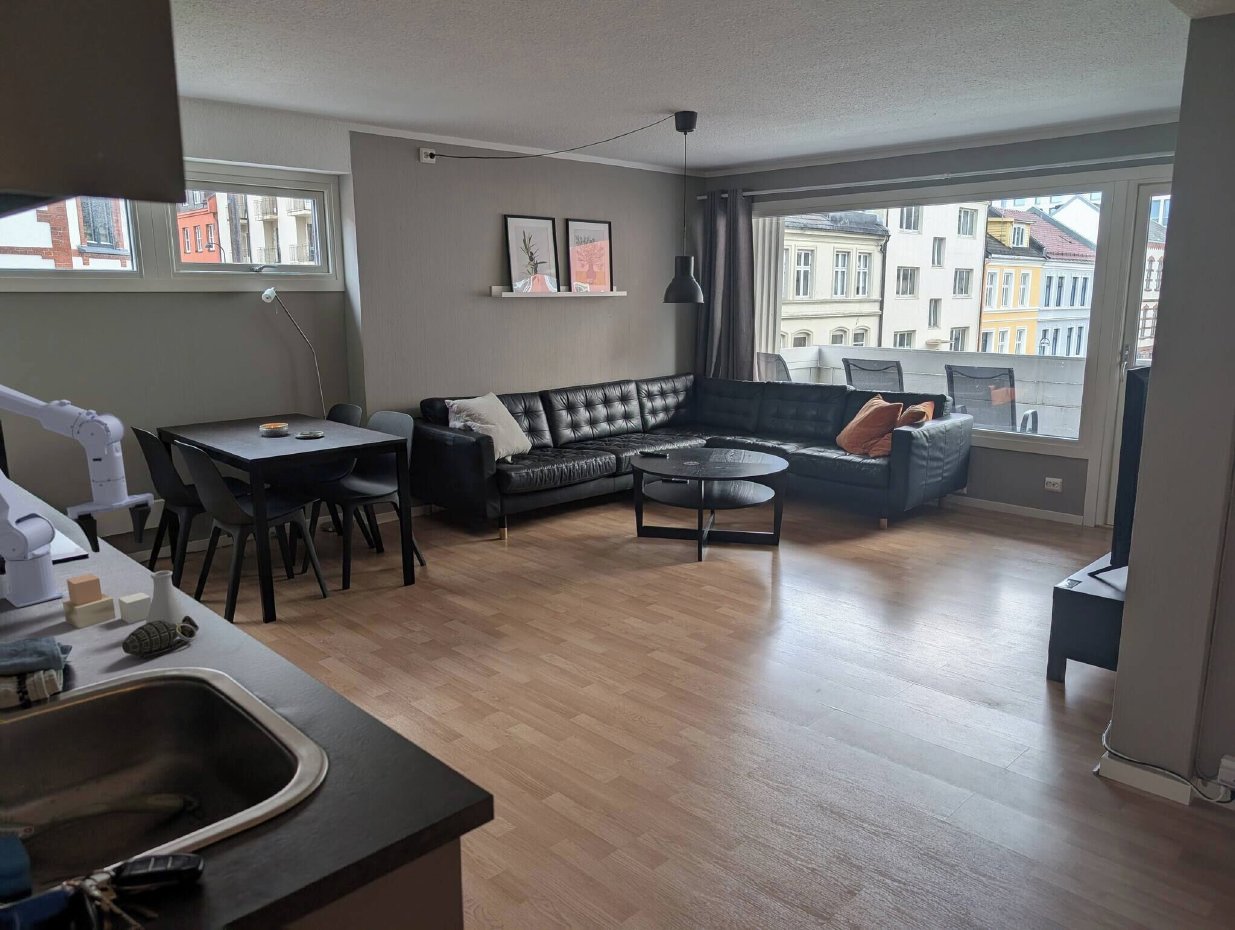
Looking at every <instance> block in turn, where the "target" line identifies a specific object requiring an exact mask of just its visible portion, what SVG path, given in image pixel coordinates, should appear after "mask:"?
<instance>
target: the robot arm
mask: <svg viewBox="0 0 1235 930" xmlns="http://www.w3.org/2000/svg"><path fill="white" fill-rule="evenodd" d="M71 404H72V402H71V401H70V400H67V399H60V400H53V401H50V402H44V401H42V400H40V399H37V398H35V397H32V396H30V395H27V394H25V393H22V392H20V391H17V390H15V389H13V388H10V387H8V386H5V385H3V384H1V383H0V409H1V410H5V411H8V412H12V413H15V414H19V415H22V416H26V417H29V418H32V419H36V420H38V421H39V422H40V424H41V426H42V427H43V429H45V430H48V431H51V432H54V433H57V434H59V435H63V436H65V437H69V438H72V439H73V440H74V439H75V440H78V443H79V444H80V445H81V446H82V447H83V448H84V450H85V454H86V458H87V459H86V460H87V465H88V471H89V479H90V484H91V493H92V500H93V501H91V502H86V503H82V504H78V505H75V506H69V507H66V510H67V517H68V518H69V519H71V520H74V522H75V523H76V524H77V525H78V527H79V528H80V529H81V531H82V532H83V534H84V535H85V538H86V539H87V541H88V543H89V546H90V548H91V551H92V552H94V553H96V554H97V553H100V551H101V550H100V544H99V539H98V530H97V529H98V526H97V523H98V522H97V521H98V520H97V519H95V518H94V516H93V515H98V514H101V513H103V514H104V513H107V512H108V513H109V512H112V511H119V510H124V509H128V511H129V515H130V518H131V522H132V527H133V528H132V529H133V538H134V542H136V543H137V544H143V542H144V541H143V540H144V531H145V528H146V524H147V521H148V518H149V516H150V514H151V512H152V508H151V505H154V504H155V501H154V494H152V493H149V492H147V493H143V494H135V495H128V487H127V481H126V474H125V466H124V458H123V452H122V444H121V440H122V439H123V438H124V436H125V425H124V424H123V422H122V420H121V419H120V418H118V417H117V416H114V415H113V414H112V413H103V414H100V415H98V414H97V411H96V410H93V409H88V410H86V409H83V408H80V407H78V406H75V405H71ZM149 505H150V506H149ZM55 537H56V527H55V525H54V524H53V522H52V521H51V520H50V519H49V518H47V517H46V516H44V515H43V514H42V513H41V512H40V511H39V510H38V508H37V507H35V506H33V505H30V504H28V503H26V502H24V501H23V500H22V498H21V497H20V495H19V494H18V493H17V491H16V490H15V488H14V487H13V485H12V484H11V483H10V481H9V480H8V478H7V476H6V475H5V474H4V472H3V471H2V469H1V468H0V556H1V557H3V559H4V561H5V564H4V570H5V576H6V580H7V587H8V593H5V594H3V597H4V599H6V600H7V601H8V602H9V603H11V604H12V605H13V606H15V608H22V607H26V606H29V605H30V606H31V605H35V604H38V603H42V602H47V601H51V600H54V599H60V598H64V597H65V593H64V592H62V591H61V590H59V589H57V585H56V578H55V571H54V570H55V569H54V566H53V559H52V552H51V548H52V546H51V544H52V542H53V540H54V539H55Z"/></svg>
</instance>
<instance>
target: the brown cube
mask: <svg viewBox="0 0 1235 930" xmlns="http://www.w3.org/2000/svg"><path fill="white" fill-rule="evenodd" d="M66 583H67V584H66V585H67V589H68V597H69V600H70V601H72V602H73V603H75V604H76V605H81V604H85V603H89V602H93V601H97V600H101V599H102V594H103V593H102V588H101V581H100V577H98V576H96V575H94V574H93V573H90V574H88V573H87V574H84V575H79V576H75V577H72V578H68V579H66ZM101 593H102V594H101Z"/></svg>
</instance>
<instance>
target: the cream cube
mask: <svg viewBox="0 0 1235 930" xmlns="http://www.w3.org/2000/svg"><path fill="white" fill-rule="evenodd" d="M151 603H152V598H151V596H149V595H148V594H146V593H144V592H142V591H140V592H138V593H134V594H133V593H132V594H130V595H126V596H122V597H121V596H120V597H118V604H119V605H118V606H119V612H120V618H121V619H122V620H123V621H124V622H126V623H128V624H129V625H130V624H134V623H137V622H142V621H144V620H147V618H148V614H149V611H150V607H151ZM141 620H142V621H141Z"/></svg>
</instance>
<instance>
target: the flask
mask: <svg viewBox="0 0 1235 930" xmlns="http://www.w3.org/2000/svg"><path fill="white" fill-rule="evenodd" d="M172 575H173V571H171V570H158V571H155V572H153V573H152V574H150V578H151V579H152V580H153V582H152V583H153V597H152V598H151V607H150V611H149V614H148V618H147V619H146V622H145V624H147V623H149V622H153V621H158V620H165V621H167V623H175V624H180V623H182V620H183V618H184V617H185V616H189V617H191V616H190V614H189V613H188V611H187V610H186V608H185V606H184V605H183V603H182V602H181V599H180V598H179V596H178V594H177V592H176V590H175V587H174V585H173V581H172Z"/></svg>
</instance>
